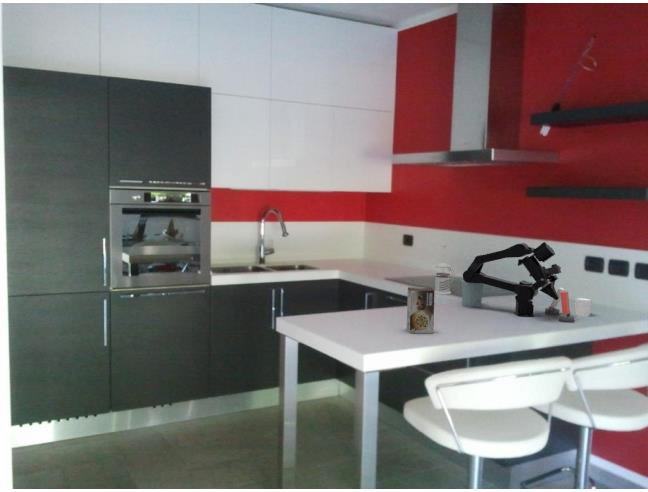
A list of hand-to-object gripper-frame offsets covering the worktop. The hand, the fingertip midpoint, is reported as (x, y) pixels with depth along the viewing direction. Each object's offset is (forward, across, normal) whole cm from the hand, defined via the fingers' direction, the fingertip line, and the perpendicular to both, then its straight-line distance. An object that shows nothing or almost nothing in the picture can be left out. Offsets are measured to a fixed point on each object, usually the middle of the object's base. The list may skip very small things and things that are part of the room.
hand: (557, 299), depth 249 cm
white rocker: (+2, +12, +8) cm, 14 cm away
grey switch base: (+4, +12, +9) cm, 15 cm away
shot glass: (+11, +19, +1) cm, 21 cm away
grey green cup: (-19, +7, +36) cm, 41 cm away
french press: (-35, +32, +55) cm, 73 cm away
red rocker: (+8, 0, +1) cm, 8 cm away
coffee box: (-15, -58, +32) cm, 68 cm away
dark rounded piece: (+9, 0, +2) cm, 9 cm away
